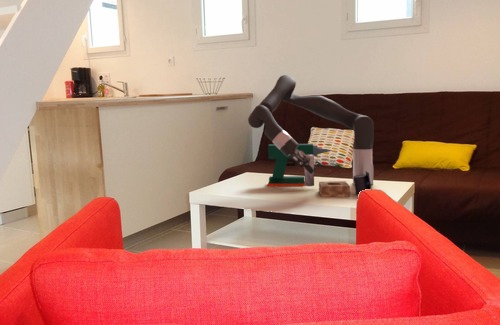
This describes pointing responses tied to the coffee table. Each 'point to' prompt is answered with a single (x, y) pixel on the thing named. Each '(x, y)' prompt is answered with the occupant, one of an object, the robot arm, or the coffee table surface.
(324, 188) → the block
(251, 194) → the coffee table surface
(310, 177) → the grey upright block
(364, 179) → the speaker
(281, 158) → the power tool
